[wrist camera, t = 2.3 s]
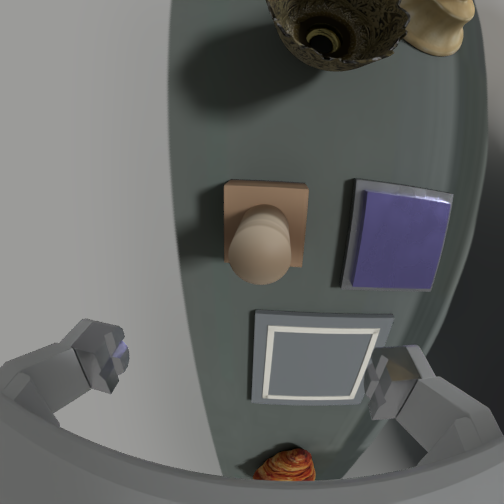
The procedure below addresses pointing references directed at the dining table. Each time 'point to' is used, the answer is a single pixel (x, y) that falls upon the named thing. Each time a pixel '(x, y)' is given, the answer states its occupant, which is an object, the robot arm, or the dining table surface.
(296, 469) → the croissant
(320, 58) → the cup
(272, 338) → the board
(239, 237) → the stamp
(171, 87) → the dining table surface
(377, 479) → the robot arm
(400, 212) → the ink pad
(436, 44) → the hand bell
